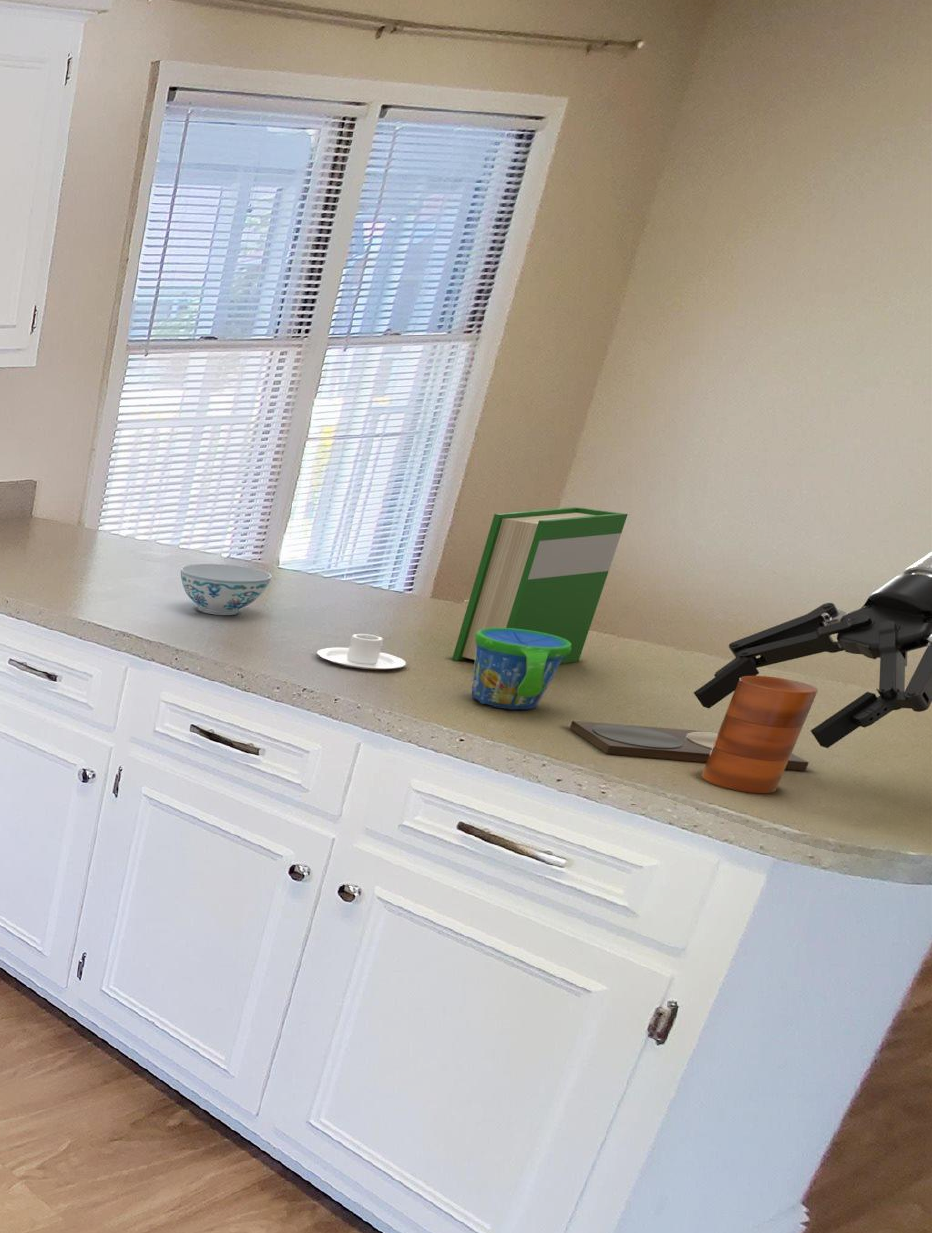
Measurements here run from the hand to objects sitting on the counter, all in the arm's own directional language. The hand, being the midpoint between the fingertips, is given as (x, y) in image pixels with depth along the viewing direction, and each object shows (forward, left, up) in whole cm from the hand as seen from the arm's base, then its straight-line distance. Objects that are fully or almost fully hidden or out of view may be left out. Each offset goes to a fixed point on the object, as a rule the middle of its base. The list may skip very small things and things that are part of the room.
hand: (756, 719), depth 133 cm
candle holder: (+45, +26, -8) cm, 53 cm away
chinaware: (+76, +41, -8) cm, 87 cm away
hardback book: (+53, +2, -8) cm, 54 cm away
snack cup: (+27, +13, -8) cm, 31 cm away
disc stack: (0, -1, -8) cm, 8 cm away
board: (+12, -1, -8) cm, 15 cm away
